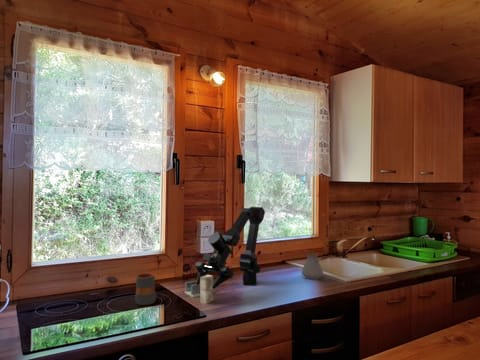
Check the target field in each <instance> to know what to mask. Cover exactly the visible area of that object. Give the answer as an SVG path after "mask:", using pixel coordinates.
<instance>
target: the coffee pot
mask: <svg viewBox="0 0 480 360" xmlns="http://www.w3.org/2000/svg"><path fill="white" fill-rule="evenodd" d="M305 254H306V257H307V258H306V260H305V263H304V265H303V267H302V269H301V275H302V277H304V279H306V280H310V281H311V280H312V281H314V280H316V281H317V280H319V279H320V278H322V277H323V275H324V271H323V269H322V267H321V264H320V262H319V261H321V260H322V261H323V260H326V259H328V258H330V259H331V260H333V258H335V256H334V255H333V254H329V255H326V256H323V257H320V258H318V256H319V253H316V252H306V253H305Z"/></svg>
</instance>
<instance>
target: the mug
mask: <svg viewBox="0 0 480 360" xmlns="http://www.w3.org/2000/svg"><path fill="white" fill-rule="evenodd" d="M135 280H136V281H135V287H136V288H135V289H136V290H135V295H134V296H135V297H134V298H135V299H134V300H135V301H134V302H135V304H136V305H138V306H149V305H150V306H151V305H153V304H155V303H156V299H157V297H156V296H157V295H156V290H155V289H156V288H155V285H156V280H155V274H153V273H141V274H138V275H136V277H135Z"/></svg>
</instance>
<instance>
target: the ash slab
mask: <svg viewBox="0 0 480 360" xmlns="http://www.w3.org/2000/svg"><path fill="white" fill-rule="evenodd" d="M213 284H214V275H211V274H206V275H205V276H202V277H200V296H199V297H200V299H199V300H200V301H199V302H200V303H201V304H204V303H205V305H206V304H209V303H211V302H213V301H214V289H213V288H212V286H213Z"/></svg>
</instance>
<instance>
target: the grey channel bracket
mask: <svg viewBox="0 0 480 360" xmlns="http://www.w3.org/2000/svg"><path fill="white" fill-rule="evenodd" d="M196 282H197V279H196V280H192V281H186V282H184V287H185V288H184V289H185V290H184V294H186V295H188V296H190V297H191V298H195V297H196V298H197V297H200V284H199V285H197V284H196Z"/></svg>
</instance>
